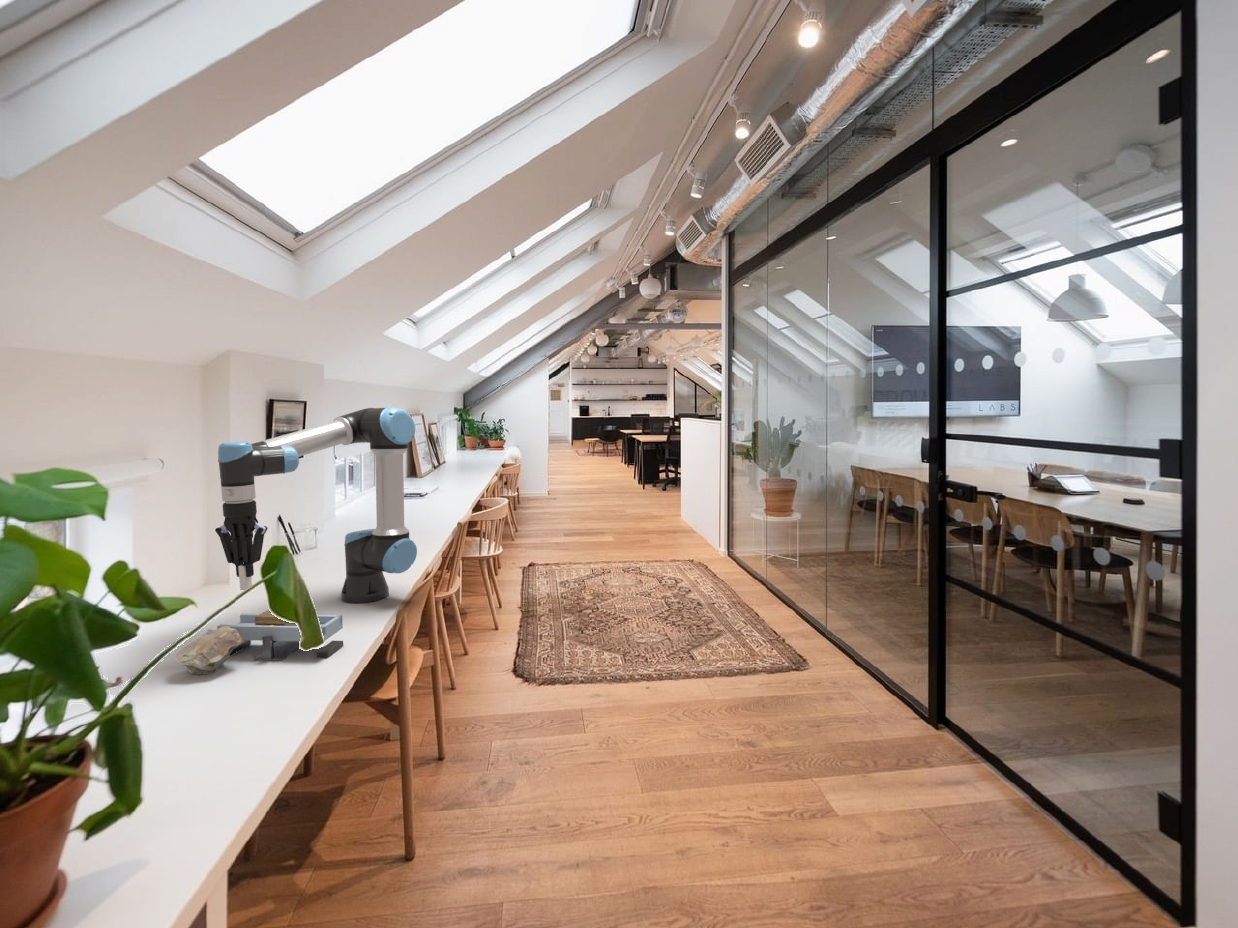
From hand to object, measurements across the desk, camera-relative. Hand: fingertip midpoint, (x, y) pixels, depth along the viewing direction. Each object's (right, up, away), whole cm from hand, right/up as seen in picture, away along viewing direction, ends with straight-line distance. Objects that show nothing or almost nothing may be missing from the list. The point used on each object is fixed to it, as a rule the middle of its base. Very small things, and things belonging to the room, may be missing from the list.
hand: (246, 588), depth 164 cm
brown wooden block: (+8, -11, 0) cm, 13 cm away
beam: (+9, -11, 0) cm, 15 cm away
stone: (-1, -18, -13) cm, 22 cm away
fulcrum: (+9, -17, 0) cm, 19 cm away
